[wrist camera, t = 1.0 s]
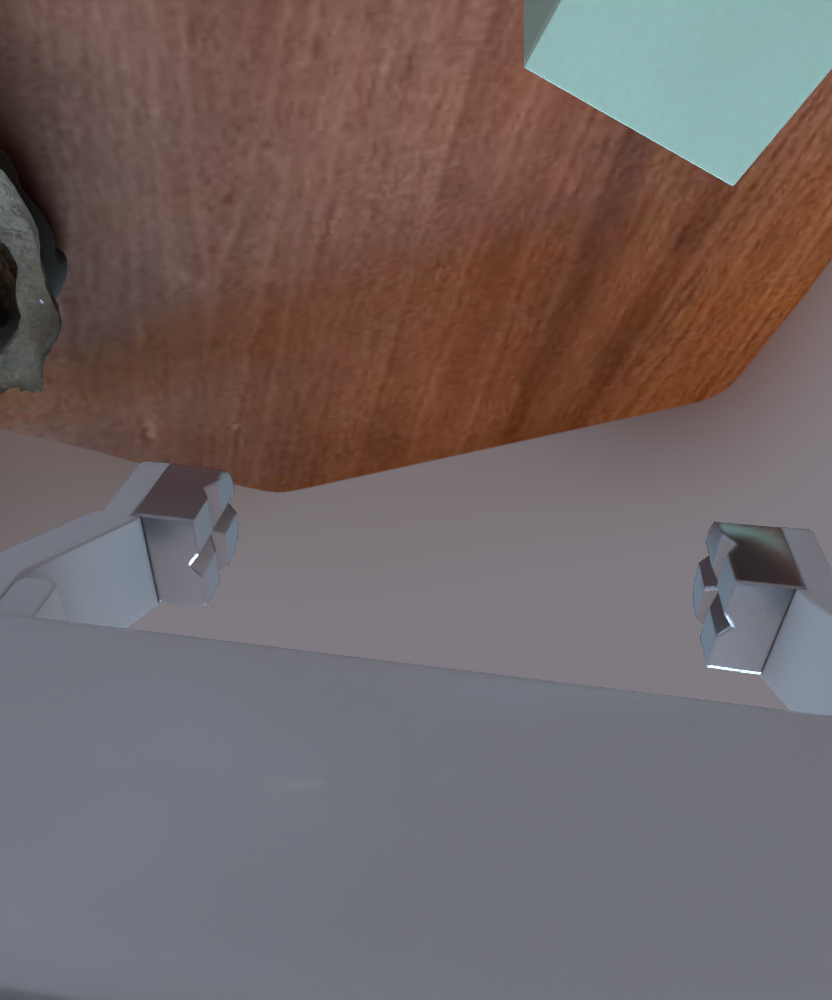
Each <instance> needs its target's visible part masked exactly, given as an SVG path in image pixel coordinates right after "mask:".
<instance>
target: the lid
mask: <svg viewBox="0 0 832 1000" xmlns="http://www.w3.org/2000/svg"><path fill="white" fill-rule="evenodd" d="M524 67H525V68H526V69H528V70H530V71H531V72H533V73H535V74H537V75H538V76H540V77H542V78H544V79H545V80H547V81H549V82H551V83H552V84H554V85H556V86H558V87H559V88H561V89H563V90H565V91H566V92H568V93H570V94H572V95H573V96H575V97H577V98H579V99H580V100H582V101H584V102H586V103H587V104H589V105H591V106H593V107H594V108H596V109H598V110H600V111H601V112H603V113H605V114H607V115H609V116H610V117H612V118H614V119H616V120H617V121H619V122H621V123H623V124H624V125H626V126H628V127H630V128H631V129H633V130H635V131H637V132H638V133H640V134H642V135H644V136H645V137H647V138H649V139H651V140H652V141H654V142H656V143H658V144H659V145H661V146H663V147H665V148H666V149H668V150H670V151H672V152H673V153H675V154H677V155H679V156H680V157H682V158H684V159H686V160H687V161H689V162H691V163H693V164H694V165H696V166H698V167H700V168H702V169H703V170H705V171H707V172H709V173H710V174H712V175H714V176H716V177H717V178H719V179H721V180H723V181H724V182H726V183H728V184H730V185H731V186H734V185H735V184H736V182H737V181H738V180H739V179H740V178H741V176H742V175H743V174H744V173H745V172H746V170H747V169H748V168H749V167H750V166H751V164H752V163H753V162H754V161H755V160H756V158H757V157H758V156H759V155H760V154H761V152H762V151H763V150H764V149H765V148H766V146H767V145H768V144H769V143H770V142H771V141H772V139H773V138H774V137H775V136H776V135H777V133H778V132H779V131H780V130H781V129H782V127H783V126H784V125H785V124H786V123H787V121H788V120H789V119H790V118H791V117H792V115H793V114H794V113H795V112H796V111H797V109H798V108H799V107H800V106H801V105H802V103H803V102H804V101H805V100H806V99H807V98H808V96H809V95H810V94H811V93H812V92H813V90H814V89H815V88H816V87H817V86H818V84H819V83H820V82H821V81H822V80H823V78H824V77H825V76H826V75H827V74H828V72H829V71H830V70H831V69H832V0H557V2H556V4H555V6H554V7H553V9H552V11H551V13H550V15H549V17H548V18H547V20H546V22H545V24H544V26H543V27H542V29H541V31H540V33H539V35H538V37H537V38H536V40H535V42H534V44H533V46H532V48H531V49H530V51H529V53H528V55H527V57H526V59H525V60H524Z"/></svg>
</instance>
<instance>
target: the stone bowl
mask: <svg viewBox="0 0 832 1000" xmlns="http://www.w3.org/2000/svg"><path fill="white" fill-rule="evenodd" d="M66 274H67V258H66V256H65V254H64V252H62V251H61V250H60V249H59V248H57V247H56V246H55V241H54V236H53V232H52V229H51V227H50V225H49V224H48V223H47V221H46V219H45V216H44V214H43V213H42V212H41V211H40V210H39V209H38V207H37V206H36V205H35V204H34V202H33V201H32V200H31V199H30V198H29V197H28V195H27V194H26V193H25V192H24V190H23V189H22V187H21V185H20V184H19V180H18V174H17V172H16V170H15V167H14V165H13V163H12V161H11V160H10V158H9V157H8V155H7V154H6V153H5V152H4V151H3V150H2V149H1V148H0V394H2V393H4V392H5V391H6V390H7V389H10V388H16V387H19V389H20V391H25V390H30V391H31V392H33V393H35V392H36V391H42V386H43V382H42V376H43V364H44V361H45V357H46V356H47V355H48V354H49V352H50V350H51V348H52V346H53V344H54V343H55V342H56V341H57V338H58V336H59V333H60V330H61V324H62V322H61V317H60V313H59V305H58V304H57V302H56V300H55V299H56V297H57V296H58V294H59V292H60V290H61V288H62V286H63V284H64V282H65V279H66Z"/></svg>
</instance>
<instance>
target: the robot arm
mask: <svg viewBox="0 0 832 1000" xmlns="http://www.w3.org/2000/svg"><path fill="white" fill-rule="evenodd" d="M233 493H234V486H233V480H232V475H231V474H230V473H229V472H228V471H225V470H217V469H209V468H201V467H193V466H185V465H177V464H173V465H172V464H169V463H159V462H149V461H146V462H143V463H140V464H139V466H138V467H137V468H136V469H135V470H134V472H133V473H132V474H131V475H130V477H129V478H128V479H127V481H126V482H125V483H124V484H123V486H122V487H121V488H120V489H119V491H118V492H117V493H116V494H115V496H114V497H113V498H112V500H111V501H110V502H109V504H108V505H107V506H106V507H105V508H104V510H103V511H102V512H91V513H89V514H86V515H84V516H82V517H79V518H77V519H75V520H73V521H70V522H68V523H66V524H63V525H61V526H59V527H57V528H54V529H52V530H50V531H48V532H45V533H43V534H41V535H38V536H36V537H34V538H31V539H29V540H27V541H25V542H22V543H20V544H18V545H15V546H13V547H11V548H8V549H6V550H4V551H2V552H0V1000H832V570H831V568H830V566H829V564H828V562H827V559H826V557H825V555H824V553H823V551H822V549H821V546H820V545H819V542H818V540H817V538H816V536H815V533H814V532H813V531H811V530H810V529H802V528H788V527H767V526H755V525H745V524H733V523H723V522H714V523H713V524H712V526H711V528H710V529H709V533H708V536H707V539H706V545H707V549H708V554H709V556H708V557H706V558H705V559H703V560H702V561H701V562H699V565H698V568H697V572H696V576H695V581H694V591H693V605H694V611H695V616H696V618H697V619H698V620H699V621H700V622H701V623H702V624H703V625H704V626H703V629H702V632H701V635H700V639H701V644H702V648H703V653H704V657H705V661H706V666H707V667H711V668H718V669H725V670H732V671H738V672H746V673H753V674H759V675H761V678H762V679H763V680H764V682H765V683H766V684H767V685H768V686H769V687H770V688H771V689H772V690H773V692H774V693H775V694H776V695H777V696H778V697H779V698H780V699H781V700H782V702H783V703H784V704H785V705H786V706H787V707H788V708H789V709H790V711H789V710H780V709H773V708H765V707H757V706H748V705H741V704H732V703H725V702H716V701H709V700H700V699H692V698H684V697H676V696H667V695H660V694H652V693H643V692H636V691H628V690H619V689H610V688H603V687H595V686H586V685H579V684H570V683H563V682H554V681H546V680H538V679H530V678H522V677H514V676H506V675H498V674H490V673H489V674H488V673H481V672H473V671H466V670H457V669H449V668H440V667H433V666H425V665H417V664H409V663H401V662H393V661H385V660H376V659H368V658H360V657H352V656H344V655H335V654H328V653H320V652H312V651H304V650H296V649H288V648H280V647H271V646H263V645H255V644H247V643H239V642H231V641H223V640H215V639H206V638H199V637H190V636H183V635H175V634H166V633H159V632H150V631H142V630H134V629H126V628H127V627H128V626H130V625H131V624H132V623H134V622H135V621H137V620H138V619H139V618H141V617H142V616H144V615H145V614H146V613H148V612H149V611H151V610H152V609H153V608H155V607H156V606H158V602H159V603H171V604H181V605H191V606H202V607H207V606H208V604H209V601H210V600H211V598H212V596H213V594H214V592H215V590H216V588H217V586H218V584H219V582H220V576H219V570H220V569H221V568H223V567H225V566H227V565H228V564H229V563H230V561H231V559H232V557H233V555H234V552H235V547H236V543H237V539H238V518H237V512H236V511H235V510H234V509H233V508H232V507H231V505H230V504H229V503H228V502H229V501H230V499H231V497H232V495H233Z"/></svg>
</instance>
